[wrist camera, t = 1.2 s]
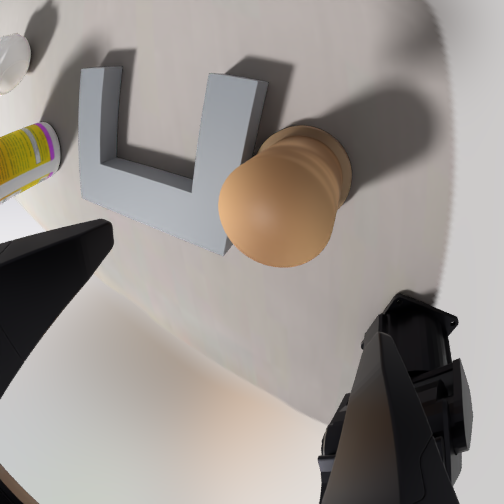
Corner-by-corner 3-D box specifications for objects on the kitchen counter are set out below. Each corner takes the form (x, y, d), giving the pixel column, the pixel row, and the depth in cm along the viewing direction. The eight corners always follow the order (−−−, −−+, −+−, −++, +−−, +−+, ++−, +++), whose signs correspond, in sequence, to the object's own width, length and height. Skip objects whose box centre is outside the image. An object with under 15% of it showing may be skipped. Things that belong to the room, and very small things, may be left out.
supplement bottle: (40, 110, 22) (-57, 150, 12) (67, 138, 23) (-41, 190, 13) (32, 156, 26) (-50, 200, 16) (58, 186, 27) (-31, 240, 17)
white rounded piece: (47, 29, 16) (-14, 38, 10) (37, 91, 21) (-20, 109, 15) (20, 32, 17) (-31, 42, 11) (12, 85, 22) (-36, 101, 15)
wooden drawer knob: (364, 144, 15) (368, 176, 10) (333, 228, 19) (317, 294, 13) (269, 113, 16) (218, 128, 11) (250, 197, 20) (201, 248, 14)
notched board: (268, 82, 15) (257, 81, 13) (234, 242, 22) (223, 256, 20) (98, 66, 18) (81, 68, 16) (96, 189, 25) (81, 197, 23)
